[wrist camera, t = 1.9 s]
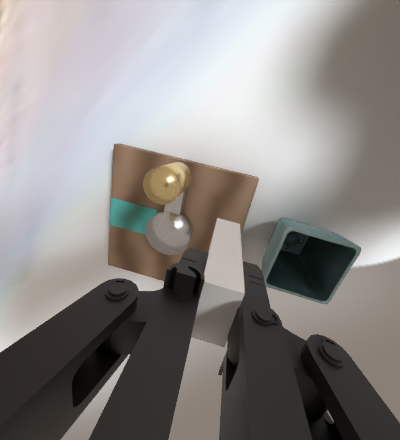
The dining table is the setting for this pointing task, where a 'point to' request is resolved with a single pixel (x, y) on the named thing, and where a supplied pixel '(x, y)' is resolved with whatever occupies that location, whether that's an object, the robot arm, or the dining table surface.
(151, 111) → the dining table surface
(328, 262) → the flower pot
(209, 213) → the base plate
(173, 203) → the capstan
